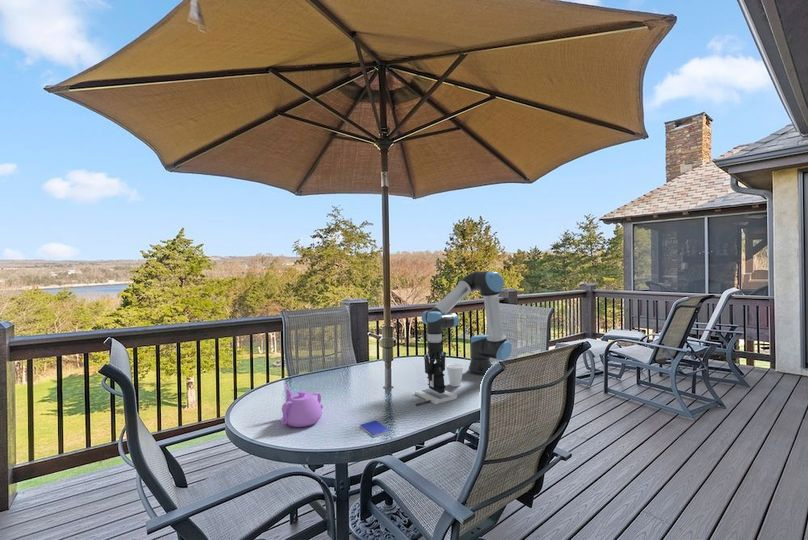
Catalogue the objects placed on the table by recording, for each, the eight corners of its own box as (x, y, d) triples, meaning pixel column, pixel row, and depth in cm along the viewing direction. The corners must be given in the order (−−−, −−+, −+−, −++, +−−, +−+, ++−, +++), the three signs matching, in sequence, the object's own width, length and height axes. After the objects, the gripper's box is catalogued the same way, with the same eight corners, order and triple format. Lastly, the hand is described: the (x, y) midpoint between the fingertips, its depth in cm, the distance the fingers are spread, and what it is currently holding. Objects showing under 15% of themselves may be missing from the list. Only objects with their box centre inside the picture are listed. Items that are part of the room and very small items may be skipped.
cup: (463, 382, 229) (463, 363, 229) (464, 388, 219) (464, 368, 219) (446, 382, 230) (446, 363, 230) (446, 387, 220) (446, 368, 220)
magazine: (443, 392, 198) (435, 362, 203) (430, 396, 208) (423, 368, 213) (449, 391, 200) (441, 361, 205) (436, 395, 210) (429, 367, 215)
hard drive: (391, 429, 166) (376, 419, 176) (374, 434, 161) (360, 424, 171) (391, 433, 166) (376, 423, 176) (374, 438, 161) (360, 428, 171)
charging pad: (435, 389, 219) (435, 386, 219) (457, 398, 203) (456, 395, 203) (400, 397, 206) (400, 394, 206) (420, 408, 191) (420, 405, 191)
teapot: (305, 407, 195) (304, 380, 194) (334, 418, 181) (333, 388, 181) (264, 422, 178) (263, 392, 177) (293, 435, 164) (292, 402, 164)
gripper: (443, 338, 214) (443, 380, 215) (417, 342, 205) (418, 386, 206) (451, 340, 208) (452, 384, 208) (425, 344, 199) (426, 390, 199)
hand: (435, 385), depth 207 cm, fingers closed on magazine, 4 cm apart
